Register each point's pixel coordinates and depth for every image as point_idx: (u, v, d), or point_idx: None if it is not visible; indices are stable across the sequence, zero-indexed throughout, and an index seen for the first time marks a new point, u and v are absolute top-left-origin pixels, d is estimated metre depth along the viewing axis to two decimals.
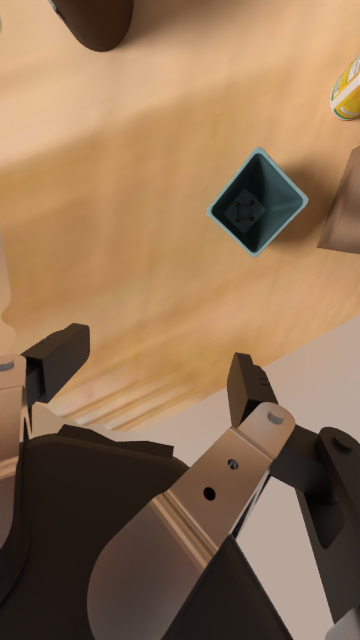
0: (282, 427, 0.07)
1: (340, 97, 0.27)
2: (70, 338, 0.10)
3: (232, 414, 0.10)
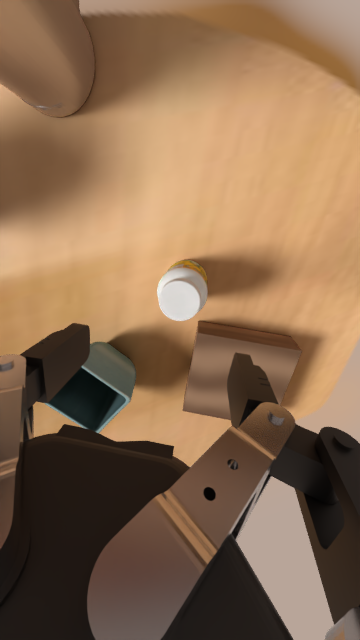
0: (282, 427, 0.07)
1: None
2: (70, 338, 0.10)
3: (232, 414, 0.10)
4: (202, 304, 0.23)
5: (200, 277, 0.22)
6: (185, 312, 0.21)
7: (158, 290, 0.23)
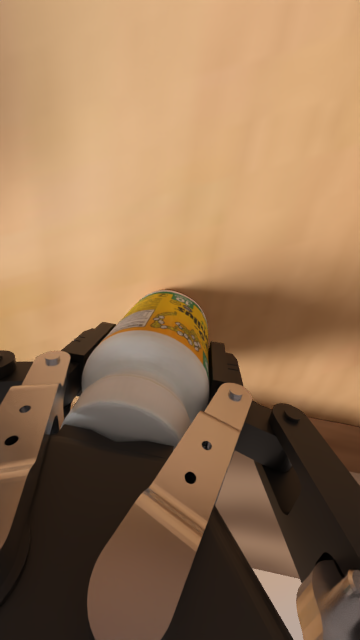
0: (239, 403, 0.08)
1: None
2: (103, 336, 0.11)
3: None
4: None
5: (190, 359, 0.08)
6: None
7: (82, 386, 0.09)
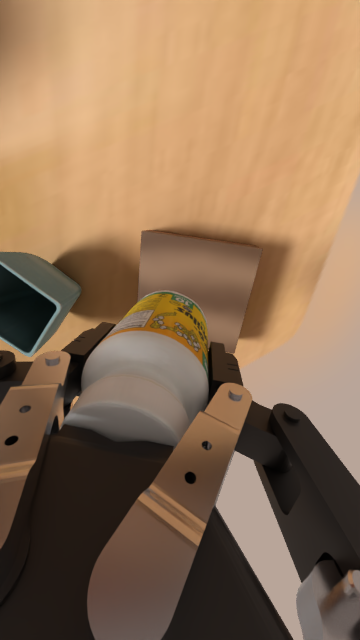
0: (238, 403, 0.08)
1: None
2: (103, 336, 0.11)
3: None
4: None
5: (189, 360, 0.08)
6: None
7: (81, 386, 0.09)
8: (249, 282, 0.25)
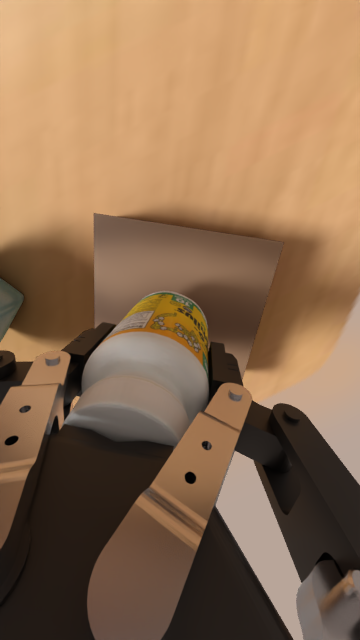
0: (238, 403, 0.08)
1: None
2: (103, 336, 0.11)
3: None
4: None
5: (189, 361, 0.08)
6: None
7: (82, 387, 0.09)
8: (261, 294, 0.16)
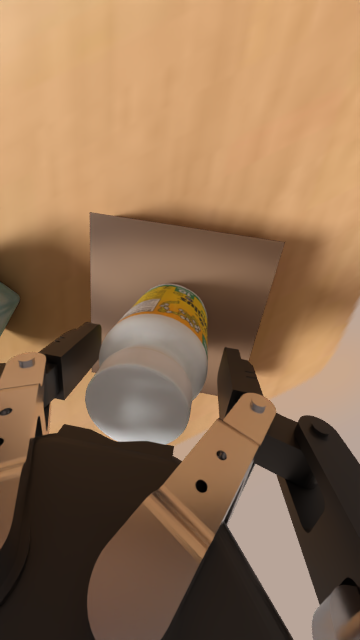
0: (263, 415, 0.07)
1: None
2: (85, 337, 0.11)
3: (220, 406, 0.10)
4: (196, 393, 0.10)
5: (191, 338, 0.10)
6: (152, 432, 0.09)
7: (99, 362, 0.10)
8: (261, 295, 0.16)
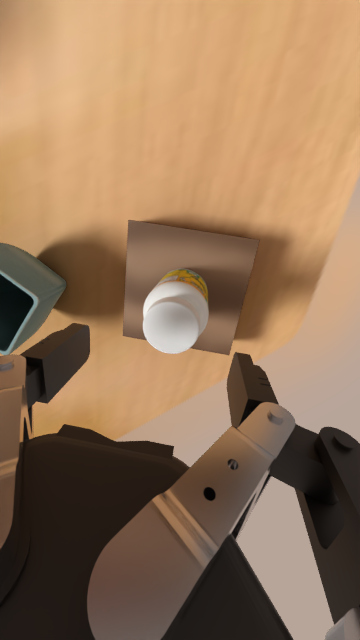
0: (282, 427, 0.07)
1: None
2: (70, 338, 0.10)
3: (232, 414, 0.10)
4: (201, 329, 0.18)
5: (199, 294, 0.17)
6: (178, 343, 0.16)
7: (144, 311, 0.18)
8: (245, 277, 0.23)
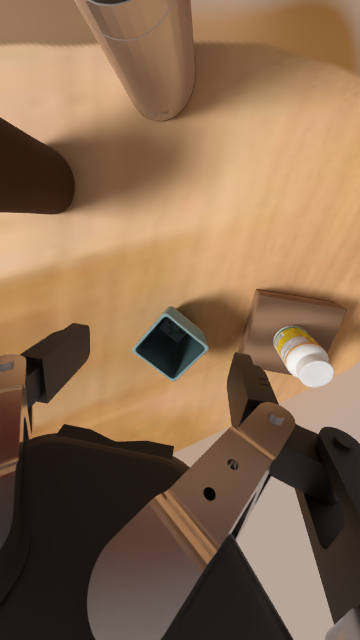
0: (282, 427, 0.07)
1: (278, 353, 0.35)
2: (70, 338, 0.10)
3: (232, 414, 0.10)
4: None
5: (325, 352, 0.29)
6: (319, 381, 0.28)
7: (290, 360, 0.30)
8: (334, 331, 0.35)
